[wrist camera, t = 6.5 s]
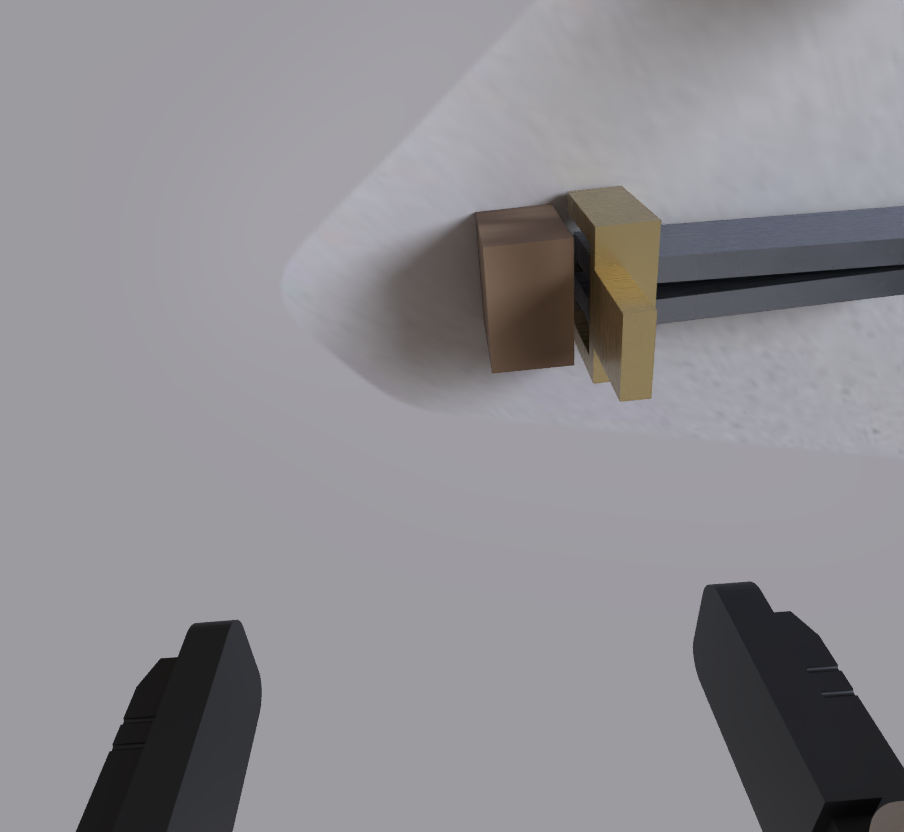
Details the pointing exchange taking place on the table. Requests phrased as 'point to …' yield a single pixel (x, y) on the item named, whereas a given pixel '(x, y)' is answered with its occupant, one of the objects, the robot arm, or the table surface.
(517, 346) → the block
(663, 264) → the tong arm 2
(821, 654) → the robot arm
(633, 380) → the collar
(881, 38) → the table surface
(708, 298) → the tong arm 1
